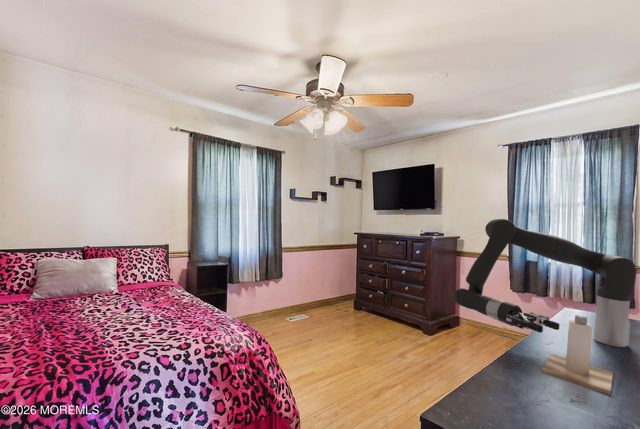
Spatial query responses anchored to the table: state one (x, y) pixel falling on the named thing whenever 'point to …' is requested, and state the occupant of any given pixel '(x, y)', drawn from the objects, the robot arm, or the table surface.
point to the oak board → (579, 375)
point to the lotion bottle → (579, 345)
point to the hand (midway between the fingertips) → (550, 328)
